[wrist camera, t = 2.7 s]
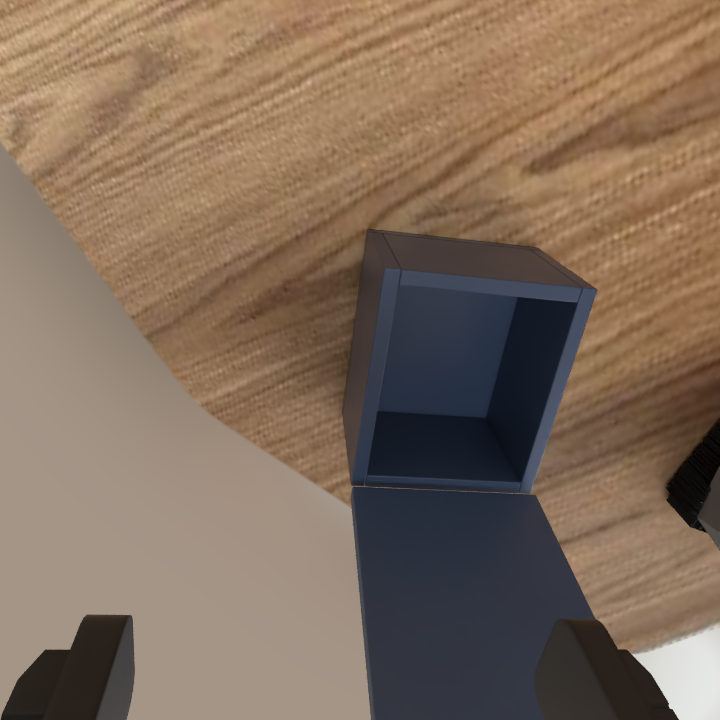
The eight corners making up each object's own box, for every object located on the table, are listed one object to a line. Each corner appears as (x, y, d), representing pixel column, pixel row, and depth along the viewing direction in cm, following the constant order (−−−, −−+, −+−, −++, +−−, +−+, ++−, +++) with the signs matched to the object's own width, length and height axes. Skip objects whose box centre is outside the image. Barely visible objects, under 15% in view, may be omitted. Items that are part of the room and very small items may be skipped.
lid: (380, 767, 19) (375, 779, 19) (664, 760, 20) (654, 771, 21) (352, 486, 31) (350, 497, 31) (536, 494, 32) (531, 505, 32)
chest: (367, 228, 33) (384, 267, 26) (538, 247, 34) (598, 289, 27) (341, 412, 38) (350, 486, 31) (490, 422, 40) (530, 494, 33)
